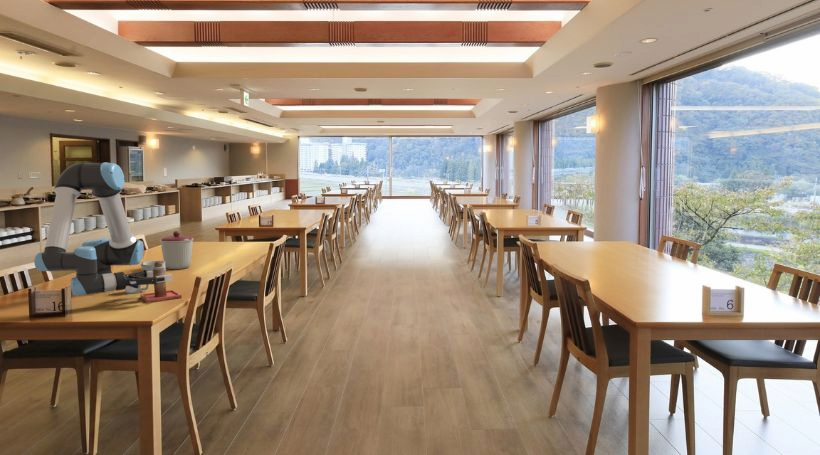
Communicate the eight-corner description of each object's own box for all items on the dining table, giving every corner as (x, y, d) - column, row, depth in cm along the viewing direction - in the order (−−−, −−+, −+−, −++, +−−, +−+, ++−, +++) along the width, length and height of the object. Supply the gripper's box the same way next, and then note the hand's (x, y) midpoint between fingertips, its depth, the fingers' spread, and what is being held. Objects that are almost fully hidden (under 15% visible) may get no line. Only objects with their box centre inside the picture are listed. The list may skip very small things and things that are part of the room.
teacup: (170, 276, 290) (169, 261, 289) (151, 280, 281) (150, 264, 280) (154, 273, 297) (153, 259, 296) (135, 277, 288) (134, 262, 287)
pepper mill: (153, 296, 245) (150, 261, 243) (164, 294, 248) (162, 259, 246) (156, 297, 241) (153, 262, 239) (168, 295, 244) (165, 261, 242)
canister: (201, 265, 321) (199, 229, 318) (183, 271, 303) (181, 233, 300) (173, 264, 324) (171, 228, 321) (153, 270, 306) (151, 232, 304)
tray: (140, 297, 245) (140, 294, 244) (173, 293, 254) (173, 289, 253) (147, 303, 236) (147, 299, 235) (181, 297, 244) (181, 294, 244)
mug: (123, 294, 252) (122, 279, 251) (128, 290, 258) (127, 276, 257) (147, 293, 254) (146, 279, 253) (150, 289, 260) (150, 276, 259)
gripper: (108, 285, 242) (159, 278, 255) (121, 296, 223) (176, 288, 236) (106, 268, 241) (158, 262, 254) (120, 277, 222) (175, 271, 235)
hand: (167, 275), depth 245 cm, fingers open, 13 cm apart
